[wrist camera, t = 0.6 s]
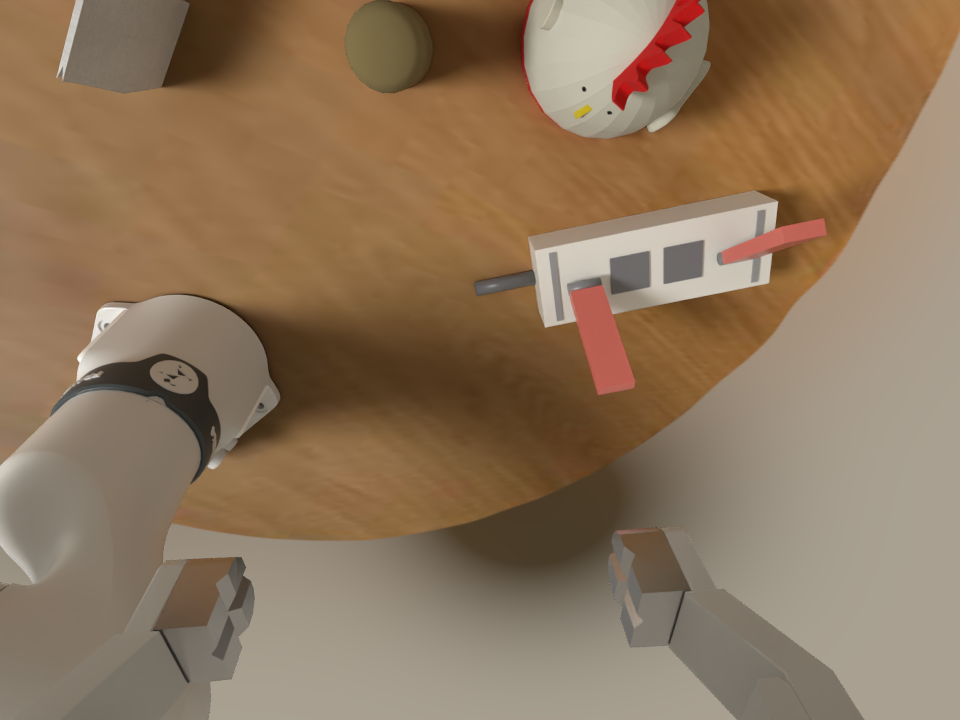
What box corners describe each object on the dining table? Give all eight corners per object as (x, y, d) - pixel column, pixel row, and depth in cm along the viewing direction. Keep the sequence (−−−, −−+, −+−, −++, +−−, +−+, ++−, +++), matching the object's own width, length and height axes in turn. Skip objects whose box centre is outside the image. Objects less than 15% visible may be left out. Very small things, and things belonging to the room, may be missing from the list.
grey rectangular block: (189, 3, 40) (122, -8, 31) (161, 87, 42) (92, 98, 34) (138, -31, 38) (53, -52, 30) (112, 58, 41) (27, 61, 32)
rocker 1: (566, 288, 49) (598, 395, 44) (567, 280, 48) (599, 389, 43) (598, 282, 49) (633, 388, 44) (599, 274, 48) (635, 382, 43)
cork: (448, 49, 42) (452, 51, 33) (398, 106, 44) (387, 123, 35) (392, -19, 40) (379, -38, 30) (340, 45, 42) (313, 46, 32)
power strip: (482, 321, 55) (485, 340, 52) (467, 249, 51) (469, 264, 47) (747, 268, 54) (769, 284, 51) (754, 190, 50) (779, 201, 47)
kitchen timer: (486, 62, 43) (508, 71, 30) (601, -112, 38) (686, -192, 25) (606, 167, 48) (668, 212, 35) (722, 25, 43) (844, 18, 30)
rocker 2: (718, 266, 49) (785, 243, 38) (715, 253, 49) (781, 226, 37) (750, 260, 49) (826, 234, 37) (747, 247, 49) (823, 218, 37)
